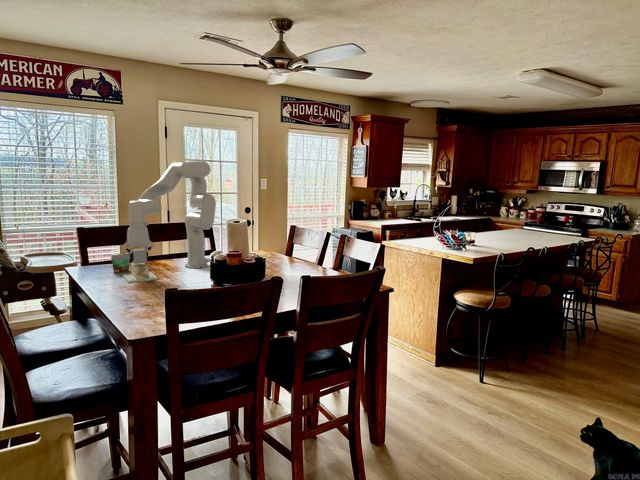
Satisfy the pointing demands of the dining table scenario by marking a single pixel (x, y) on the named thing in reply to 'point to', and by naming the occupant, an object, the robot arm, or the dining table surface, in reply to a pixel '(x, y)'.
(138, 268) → the beech block
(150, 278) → the baseplate
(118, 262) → the food container
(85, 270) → the dining table surface
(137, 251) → the grey cube
